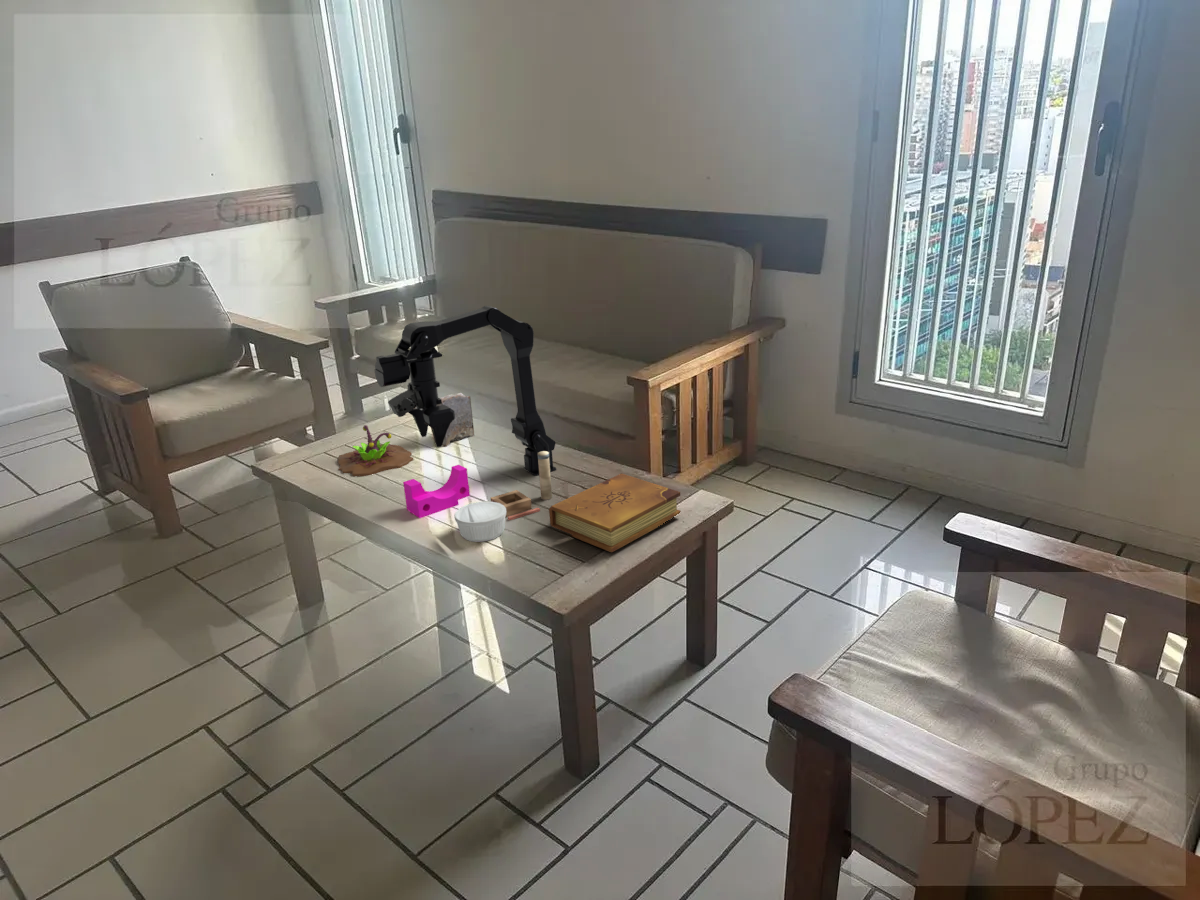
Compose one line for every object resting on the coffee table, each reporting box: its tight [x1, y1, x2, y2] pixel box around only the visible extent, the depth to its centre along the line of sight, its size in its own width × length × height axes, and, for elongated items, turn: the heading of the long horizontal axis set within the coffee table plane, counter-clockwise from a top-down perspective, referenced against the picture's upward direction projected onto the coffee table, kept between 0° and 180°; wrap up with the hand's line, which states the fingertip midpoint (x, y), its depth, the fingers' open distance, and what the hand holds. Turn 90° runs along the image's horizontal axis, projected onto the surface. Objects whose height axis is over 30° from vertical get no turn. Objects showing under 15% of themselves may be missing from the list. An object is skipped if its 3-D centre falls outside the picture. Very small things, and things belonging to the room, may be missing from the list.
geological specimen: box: [433, 392, 475, 447], centre depth 239 cm, size 11×6×15 cm, turn 138°
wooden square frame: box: [489, 489, 541, 521], centre depth 197 cm, size 8×9×2 cm
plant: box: [337, 424, 414, 478], centre depth 228 cm, size 20×20×11 cm
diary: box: [548, 473, 682, 553], centre depth 189 cm, size 23×19×6 cm
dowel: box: [538, 451, 553, 501], centre depth 201 cm, size 3×3×12 cm
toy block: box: [402, 464, 471, 519], centre depth 201 cm, size 15×6×8 cm, turn 130°
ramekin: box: [454, 501, 506, 543], centre depth 186 cm, size 11×11×5 cm
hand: (431, 441), depth 200 cm, fingers open, 9 cm apart
